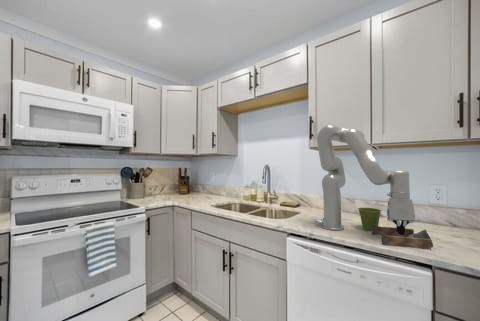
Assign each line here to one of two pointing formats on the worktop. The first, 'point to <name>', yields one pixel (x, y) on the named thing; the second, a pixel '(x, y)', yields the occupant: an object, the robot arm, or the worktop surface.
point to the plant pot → (369, 217)
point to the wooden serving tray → (400, 238)
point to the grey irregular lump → (421, 235)
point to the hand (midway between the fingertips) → (400, 234)
